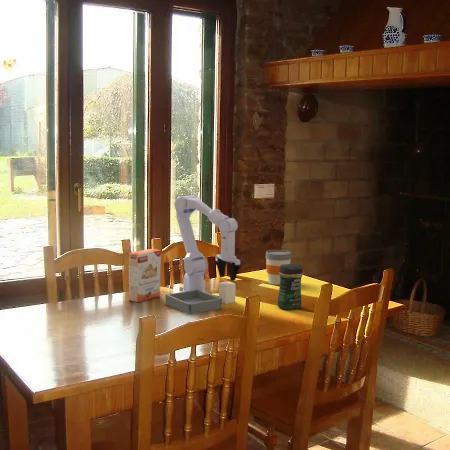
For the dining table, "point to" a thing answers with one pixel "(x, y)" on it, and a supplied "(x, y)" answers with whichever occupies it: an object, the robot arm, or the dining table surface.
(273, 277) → the reusable coffee cup
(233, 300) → the carton
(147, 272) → the cracker box
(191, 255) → the robot arm
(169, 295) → the tray
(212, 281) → the dining table surface
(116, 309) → the dining table surface
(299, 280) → the coffee jar
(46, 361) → the dining table surface
